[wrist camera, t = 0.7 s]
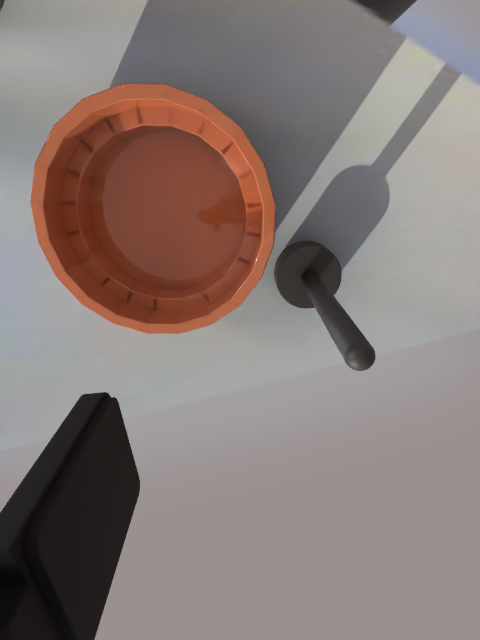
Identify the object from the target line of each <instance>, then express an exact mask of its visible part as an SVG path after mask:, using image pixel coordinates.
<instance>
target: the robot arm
mask: <svg viewBox="0 0 480 640" xmlns="http://www.w3.org/2000/svg"><path fill="white" fill-rule="evenodd" d="M139 491H140V480H139V475H138V472H137V468H136V465H135V461H134V457H133V454H132V450H131V447H130V443H129V440H128V436H127V432H126V429H125V425H124V421H123V418H122V414H121V411H120V407H119V403H118V401H117V399H116V398H115V397H113V398H111V397H110V395H109V394H108V393H106V392H104V393H93V394H84V395H82V396H81V397H80V398H79V400H78V401H77V403H76V404H75V406H74V407H73V408H72V410H71V411H70V413H69V414H68V416H67V417H66V419H65V420H64V421H63V423H62V424H61V426H60V427H59V429H58V430H57V432H56V433H55V434H54V436H53V437H52V439H51V440H50V442H49V443H48V445H47V446H46V447H45V449H44V450H43V452H42V453H41V455H40V456H39V458H38V459H37V461H36V462H35V463H34V465H33V466H32V468H31V469H30V471H29V472H28V474H27V475H26V476H25V478H24V479H23V481H22V482H21V484H20V485H19V487H18V488H17V489H16V491H15V492H14V494H13V495H12V497H11V498H10V499H9V501H8V502H7V504H6V505H5V507H4V508H3V510H2V511H1V512H0V640H94V639H95V636H96V632H97V629H98V626H99V623H100V619H101V616H102V613H103V610H104V606H105V603H106V600H107V596H108V593H109V590H110V587H111V584H112V580H113V577H114V574H115V570H116V567H117V564H118V561H119V557H120V554H121V551H122V548H123V544H124V541H125V538H126V534H127V531H128V528H129V525H130V522H131V518H132V515H133V511H134V509H135V505H136V502H137V498H138V496H139Z"/></svg>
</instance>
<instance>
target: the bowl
mask: <svg viewBox="0 0 480 640" xmlns="http://www.w3.org/2000/svg"><path fill="white" fill-rule="evenodd" d="M264 165H265V164H264V163H263V161H262V159H261V158H260V156H259V155H258V153H257V152H256V150H255V148H254V147H253V145H252V144H251V142H250V140H249V139H248V137H247V136H246V134H245V133H244V131H243V130H242V128H241V127H240V126H238V125H237V124H236V123H235V122H234V121H232V120H231V119H230V118H229V117H228V116H226V115H225V114H224V113H223V112H222V111H220V110H219V109H218V108H217V107H216V106H214V105H213V104H212V103H211V102H210V101H208V100H207V99H204V98H201V97H199V96H196V95H194V94H191V93H188V92H186V91H183V90H181V89H178V88H175V87H173V86H170V85H167V84H131V83H124V84H120V85H117V86H115V87H112V88H109V89H107V90H104V91H101V92H99V93H96V94H94V95H91V96H88V97H86V98H84V99H82V100H81V101H80V102H79V103H78V104H77V105H75V106H74V107H73V108H72V109H71V110H70V111H69V112H68V113H67V114H66V115H65V116H64V117H63V118H61V119H60V120H59V121H58V122H57V123H56V124H55V125H54V126H53V128H52V130H51V132H50V134H49V136H48V138H47V140H46V142H45V144H44V146H43V148H42V150H41V152H40V155H39V157H38V159H37V161H36V163H35V167H34V176H33V185H32V193H31V208H32V213H33V218H34V223H35V228H36V233H37V238H38V243H39V245H40V247H41V249H42V251H43V252H44V254H45V256H46V258H47V260H48V262H49V264H50V266H51V268H52V270H53V272H54V274H55V275H56V276H57V278H58V279H59V280H60V281H61V282H62V283H63V285H64V286H65V287H66V288H67V289H68V290H69V291H70V292H71V293H72V294H73V295H74V296H75V297H76V298H77V300H78V301H79V302H80V303H81V304H83V305H84V306H86V307H87V308H89V309H91V310H92V311H94V312H95V313H97V314H99V315H100V316H102V317H103V318H105V319H107V320H108V321H110V322H112V323H114V324H117V325H120V326H124V327H127V328H131V329H134V330H137V331H141V332H144V333H166V334H180V333H184V332H187V331H190V330H194V329H197V328H201V327H204V326H207V325H211V324H212V323H214V322H216V321H217V320H219V319H220V318H222V317H223V316H225V315H226V314H228V313H229V312H231V311H232V310H234V309H235V308H237V307H238V306H239V305H241V304H242V302H243V301H244V300H245V299H246V297H247V296H248V295H249V293H250V292H251V291H252V290H253V288H254V287H255V286H256V285H257V283H258V282H259V281H260V280H261V277H262V275H263V273H264V270H265V267H266V265H267V262H268V259H269V256H270V254H271V251H272V248H273V246H274V234H275V212H276V206H275V200H274V197H273V193H272V189H271V185H270V182H269V178H268V174H267V170H266V167H265V166H264Z"/></svg>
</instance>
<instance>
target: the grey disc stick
mask: <svg viewBox="0 0 480 640" xmlns="http://www.w3.org/2000/svg"><path fill="white" fill-rule="evenodd" d="M274 276H275V281H276V284H277V287H278V290H279V292H280V294H281V296H282V297H283V298H284V299H285V300H286V301H287V302H288V303H290V304H291V305H293V306H296V307H299V308H314V307H315V308H316V310H317V312H318V313H319V315H320V317H321V319H322V321H323V322H324V324H325V326H326V328H327V330H328V331H329V333H330V335H331V337H332V339H333V340H334V342H335V344H336V346H337V348H338V349H339V351H340V353H341V355H342V357H343V358H344V360H345V362H346V364H347V365H348V366H349V367H351V368H352V369H354V370H357V371H363V370H366V369H368V368H370V367H371V366H372V365H373V363H374V361H375V351H374V349H373V347H372V346H371V345H370V343H369V342H368V341H367V339H366V338H365V337H364V335H363V334H362V333H361V331H360V330H359V329H358V327H357V326H356V325H355V323H354V322H353V321H352V320H351V318H350V317H349V316H348V314H347V313H346V312H345V310H344V309H343V308H342V306H341V305H340V304H339V302H338V301H337V300H336V298H335V297H334V294H335V293H336V292H337V290H338V288H339V285H340V282H341V267H340V264H339V262H338V260H337V258H336V257H335V256H334V255H333V254H332V253H331V252H330V251H329V250H328V249H327V248H325V247H324V246H323V245H321V244H319V243H316V242H312V241H303V242H298V243H295V244H293V245H291V246H289V247H288V248H286V249H285V250H284V251H283V252H282V253H281V255H280V256H279V258H278V260H277V262H276V265H275V270H274Z"/></svg>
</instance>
